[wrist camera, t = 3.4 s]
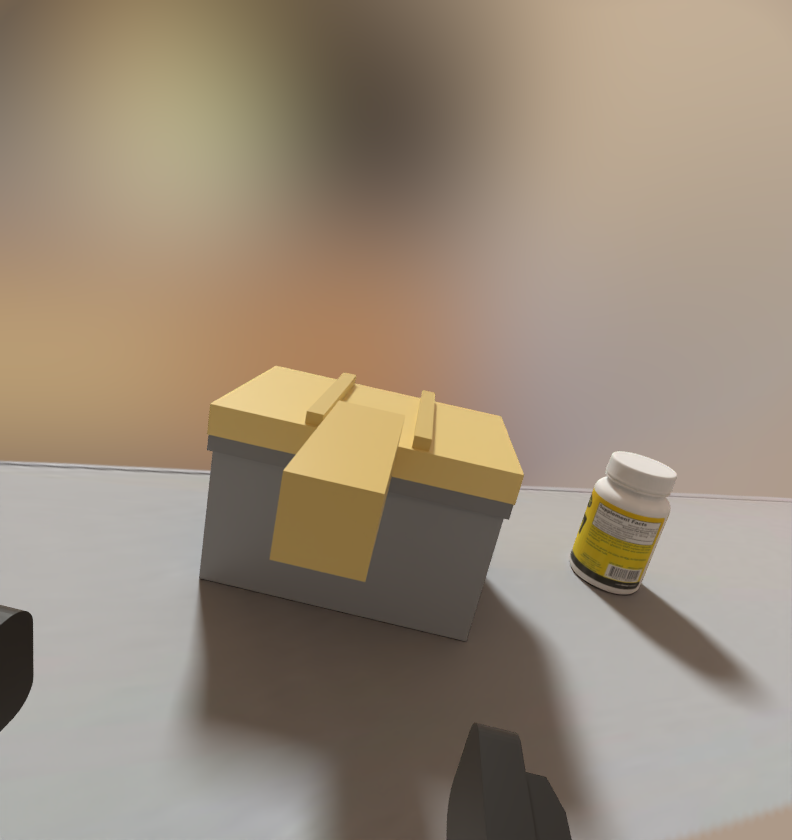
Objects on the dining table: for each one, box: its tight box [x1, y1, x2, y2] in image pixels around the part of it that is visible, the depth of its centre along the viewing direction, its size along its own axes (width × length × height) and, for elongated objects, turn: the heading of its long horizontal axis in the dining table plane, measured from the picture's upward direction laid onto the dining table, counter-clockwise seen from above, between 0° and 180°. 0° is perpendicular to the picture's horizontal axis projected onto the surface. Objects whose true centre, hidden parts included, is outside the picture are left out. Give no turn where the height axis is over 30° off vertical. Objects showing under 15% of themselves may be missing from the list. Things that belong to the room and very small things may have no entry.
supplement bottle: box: [570, 451, 677, 594], centre depth 34 cm, size 5×5×8 cm
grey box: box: [199, 435, 513, 641], centre depth 29 cm, size 14×9×8 cm, turn 85°
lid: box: [207, 366, 524, 582], centre depth 24 cm, size 14×18×3 cm
